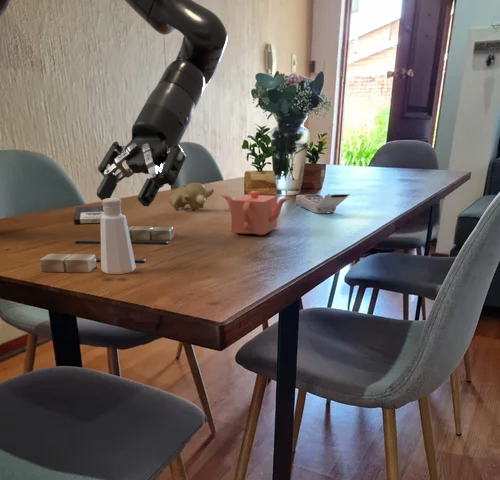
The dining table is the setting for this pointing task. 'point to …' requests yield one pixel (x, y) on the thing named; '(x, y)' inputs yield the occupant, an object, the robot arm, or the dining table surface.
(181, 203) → the rhino figurine
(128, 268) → the pepper shaker
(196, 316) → the dining table surface
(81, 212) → the chocolate bar
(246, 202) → the teapot
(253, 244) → the dining table surface
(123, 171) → the robot arm
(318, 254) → the dining table surface
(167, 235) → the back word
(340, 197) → the mobile phone
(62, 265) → the front word
